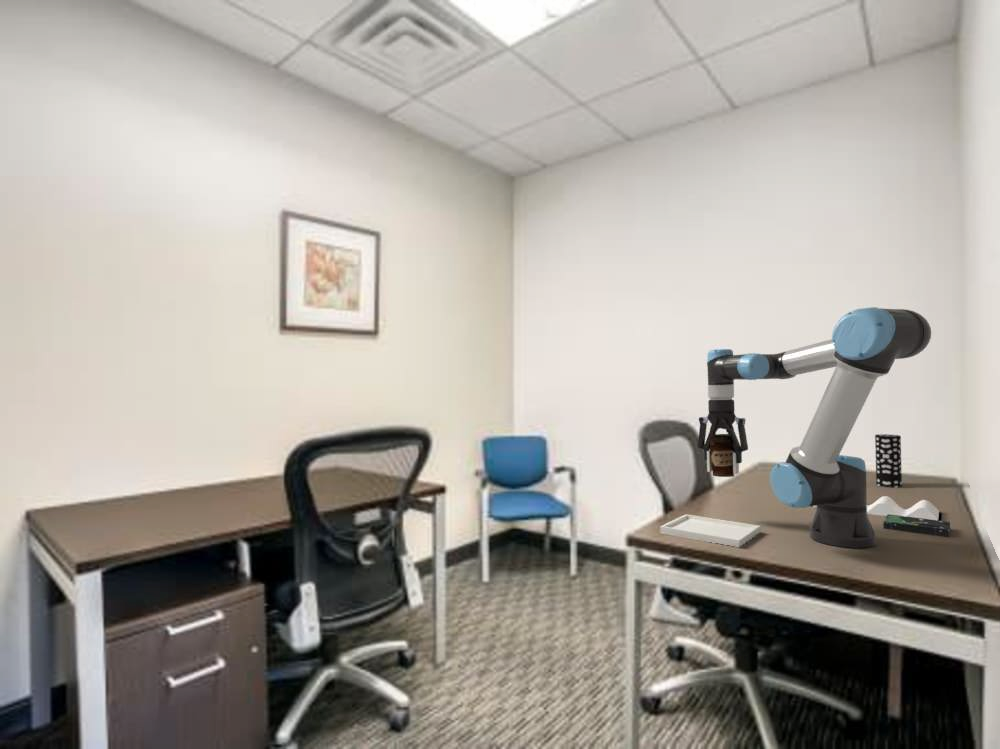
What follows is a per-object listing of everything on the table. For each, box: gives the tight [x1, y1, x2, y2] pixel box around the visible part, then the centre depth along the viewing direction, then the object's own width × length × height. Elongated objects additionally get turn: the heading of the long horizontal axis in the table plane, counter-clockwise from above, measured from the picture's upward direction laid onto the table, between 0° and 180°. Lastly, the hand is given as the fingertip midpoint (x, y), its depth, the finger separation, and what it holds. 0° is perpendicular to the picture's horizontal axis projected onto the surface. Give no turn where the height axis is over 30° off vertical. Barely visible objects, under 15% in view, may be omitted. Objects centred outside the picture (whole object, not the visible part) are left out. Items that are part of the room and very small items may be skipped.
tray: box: [659, 513, 762, 548], centre depth 158 cm, size 22×18×2 cm
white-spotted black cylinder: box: [874, 433, 903, 489], centre depth 219 cm, size 8×8×20 cm
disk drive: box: [882, 514, 951, 538], centre depth 158 cm, size 10×3×15 cm
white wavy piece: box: [812, 495, 943, 521], centre depth 180 cm, size 13×35×5 cm, turn 50°
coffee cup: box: [708, 433, 735, 478], centre depth 171 cm, size 9×8×13 cm
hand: (722, 472), depth 171 cm, fingers closed on coffee cup, 7 cm apart
